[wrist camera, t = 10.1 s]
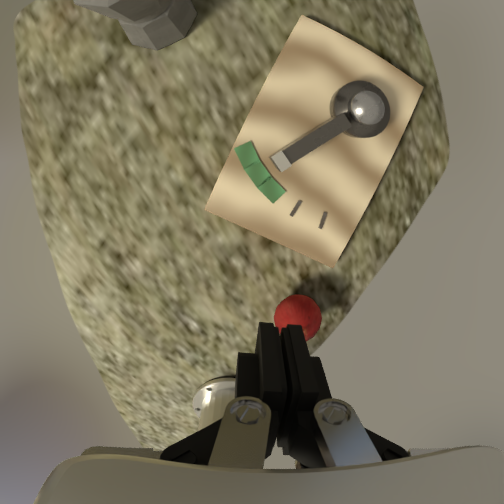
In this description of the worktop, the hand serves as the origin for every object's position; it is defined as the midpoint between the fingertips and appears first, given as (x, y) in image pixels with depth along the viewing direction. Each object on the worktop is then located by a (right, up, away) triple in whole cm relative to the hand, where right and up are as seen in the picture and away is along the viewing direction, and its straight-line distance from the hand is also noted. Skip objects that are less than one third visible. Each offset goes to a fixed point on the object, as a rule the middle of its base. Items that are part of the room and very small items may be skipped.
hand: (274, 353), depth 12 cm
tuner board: (+7, +17, +22) cm, 29 cm away
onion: (+5, -3, +30) cm, 30 cm away
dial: (+7, +18, +20) cm, 28 cm away
